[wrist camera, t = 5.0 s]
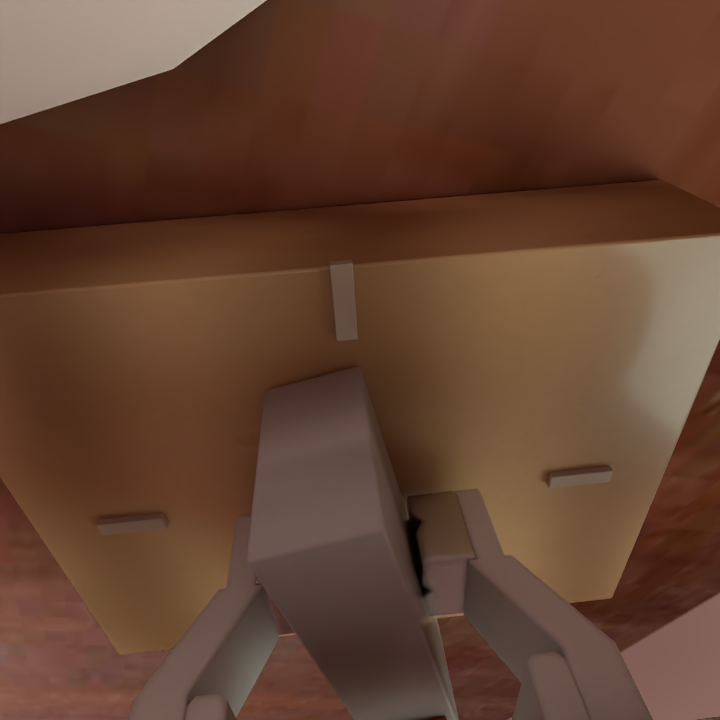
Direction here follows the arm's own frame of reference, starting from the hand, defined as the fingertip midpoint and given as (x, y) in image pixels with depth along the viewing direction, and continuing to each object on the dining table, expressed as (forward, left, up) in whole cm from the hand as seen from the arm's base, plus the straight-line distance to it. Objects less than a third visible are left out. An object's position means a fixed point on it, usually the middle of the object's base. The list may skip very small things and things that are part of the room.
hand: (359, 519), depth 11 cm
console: (0, 0, -4) cm, 4 cm away
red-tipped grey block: (0, 0, 0) cm, 0 cm away
